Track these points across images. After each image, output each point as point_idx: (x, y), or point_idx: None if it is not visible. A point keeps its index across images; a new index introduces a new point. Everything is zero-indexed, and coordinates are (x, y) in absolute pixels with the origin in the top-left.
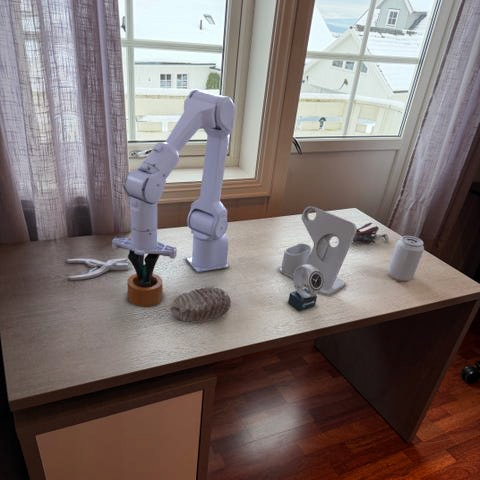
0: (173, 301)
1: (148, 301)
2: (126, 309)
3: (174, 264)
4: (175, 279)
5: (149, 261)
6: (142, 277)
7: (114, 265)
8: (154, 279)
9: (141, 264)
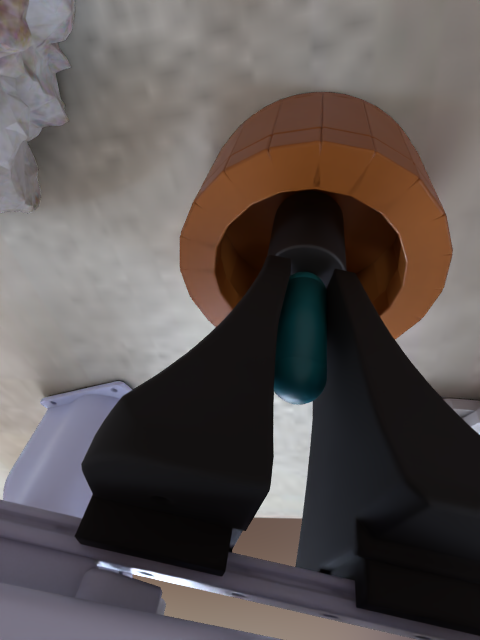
0: (14, 13)
1: (277, 110)
2: (458, 22)
3: None
4: (188, 346)
5: (183, 427)
6: (323, 294)
7: None
8: None
9: (331, 402)
